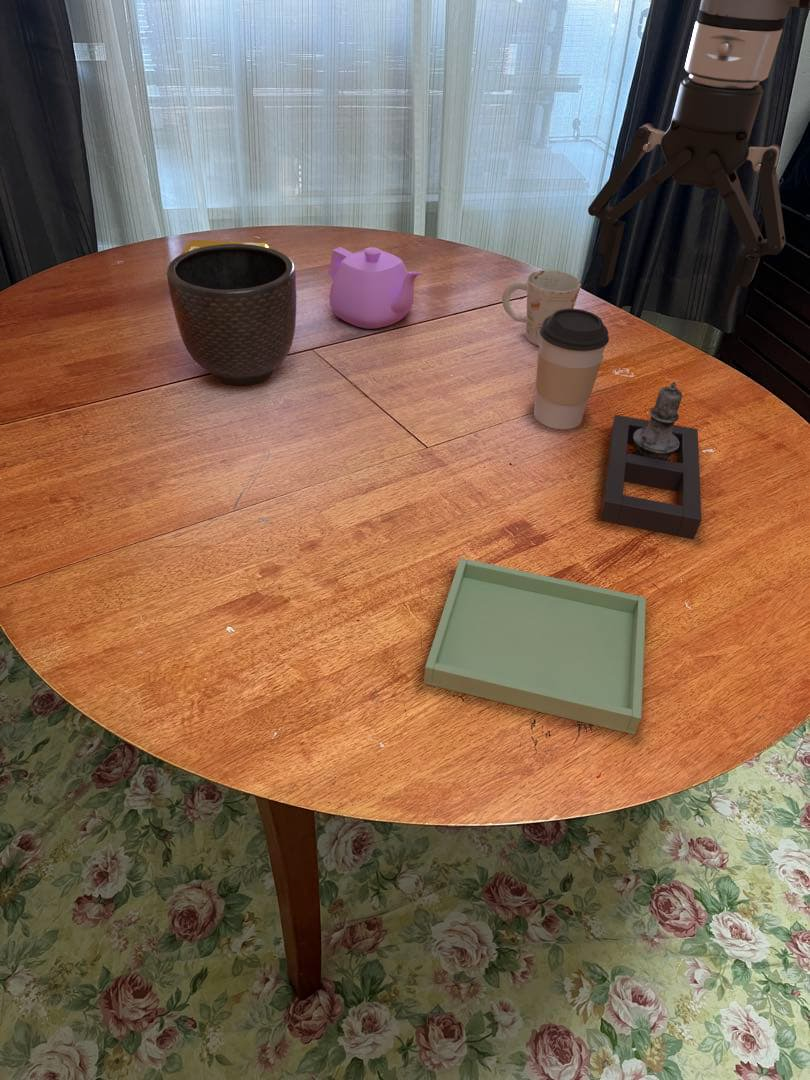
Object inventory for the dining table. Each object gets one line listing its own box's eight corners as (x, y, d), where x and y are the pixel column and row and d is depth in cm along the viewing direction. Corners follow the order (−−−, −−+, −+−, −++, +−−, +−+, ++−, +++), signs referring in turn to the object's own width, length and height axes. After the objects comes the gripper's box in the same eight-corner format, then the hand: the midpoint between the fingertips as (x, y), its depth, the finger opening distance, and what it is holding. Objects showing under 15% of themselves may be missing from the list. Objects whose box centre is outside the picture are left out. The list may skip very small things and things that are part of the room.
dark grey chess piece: (655, 481, 98) (682, 399, 90) (617, 460, 101) (640, 379, 93) (680, 464, 101) (708, 383, 93) (643, 444, 104) (667, 365, 96)
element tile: (192, 261, 144) (189, 236, 141) (271, 265, 145) (269, 239, 142) (174, 294, 133) (169, 267, 130) (260, 298, 133) (257, 271, 130)
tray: (640, 613, 80) (646, 596, 78) (634, 735, 68) (641, 718, 67) (458, 574, 83) (460, 557, 81) (423, 683, 72) (424, 666, 70)
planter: (289, 405, 107) (282, 296, 97) (169, 396, 108) (148, 287, 97) (309, 348, 120) (304, 247, 110) (201, 340, 121) (186, 239, 110)
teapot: (391, 348, 122) (393, 280, 114) (305, 308, 131) (302, 243, 124) (443, 323, 129) (449, 258, 122) (359, 287, 139) (359, 224, 132)
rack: (691, 447, 104) (697, 428, 102) (693, 539, 89) (701, 519, 87) (610, 432, 106) (614, 414, 104) (599, 520, 91) (604, 501, 89)
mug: (558, 355, 122) (570, 295, 116) (487, 335, 126) (495, 276, 120) (576, 335, 128) (588, 277, 121) (507, 317, 132) (515, 260, 125)
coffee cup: (573, 396, 113) (594, 299, 103) (600, 429, 106) (625, 329, 96) (516, 402, 111) (532, 304, 101) (540, 436, 104) (559, 335, 94)
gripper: (583, 66, 73) (547, 281, 87) (863, 107, 64) (772, 339, 78) (608, 56, 78) (570, 261, 92) (871, 92, 69) (784, 313, 83)
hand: (663, 297), depth 85 cm, fingers open, 13 cm apart
